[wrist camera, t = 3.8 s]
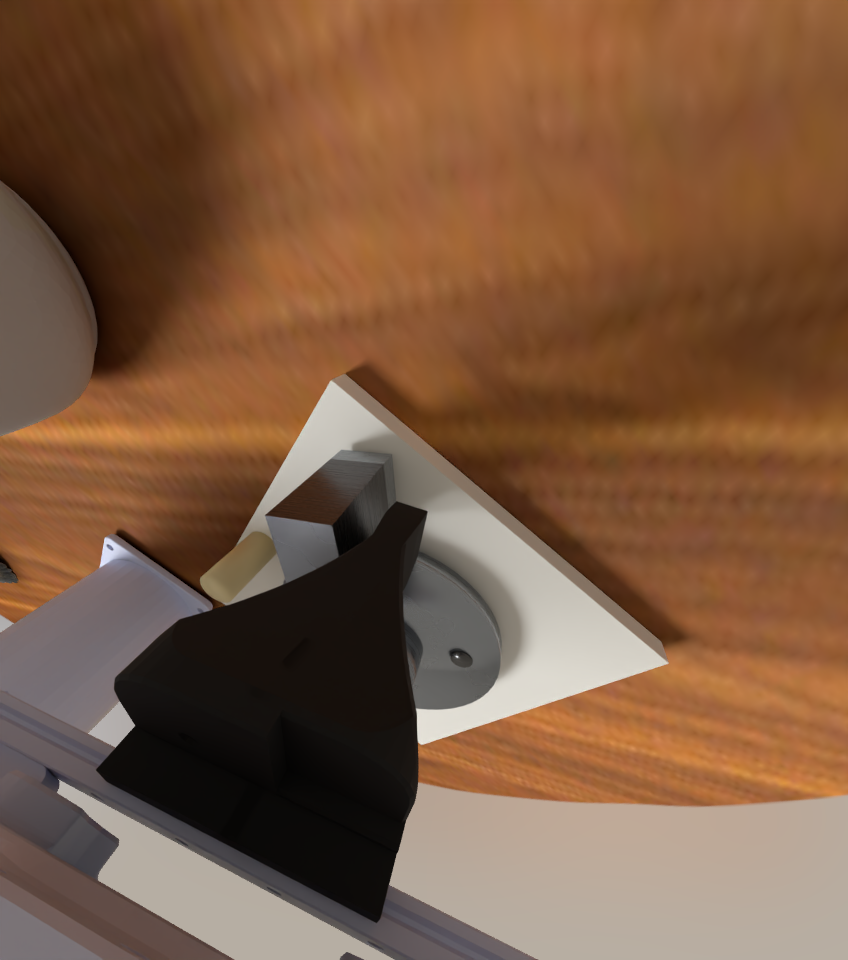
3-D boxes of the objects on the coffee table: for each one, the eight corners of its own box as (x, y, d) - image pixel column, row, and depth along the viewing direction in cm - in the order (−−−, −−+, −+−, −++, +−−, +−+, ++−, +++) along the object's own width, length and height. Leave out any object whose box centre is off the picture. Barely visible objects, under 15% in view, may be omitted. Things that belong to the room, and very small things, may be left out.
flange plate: (494, 715, 18) (484, 820, 15) (313, 666, 21) (267, 745, 18) (523, 465, 11) (517, 553, 7) (240, 441, 14) (137, 496, 10)
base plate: (426, 728, 24) (408, 801, 20) (221, 581, 22) (164, 635, 18) (661, 641, 15) (698, 748, 11) (344, 373, 13) (276, 405, 9)
